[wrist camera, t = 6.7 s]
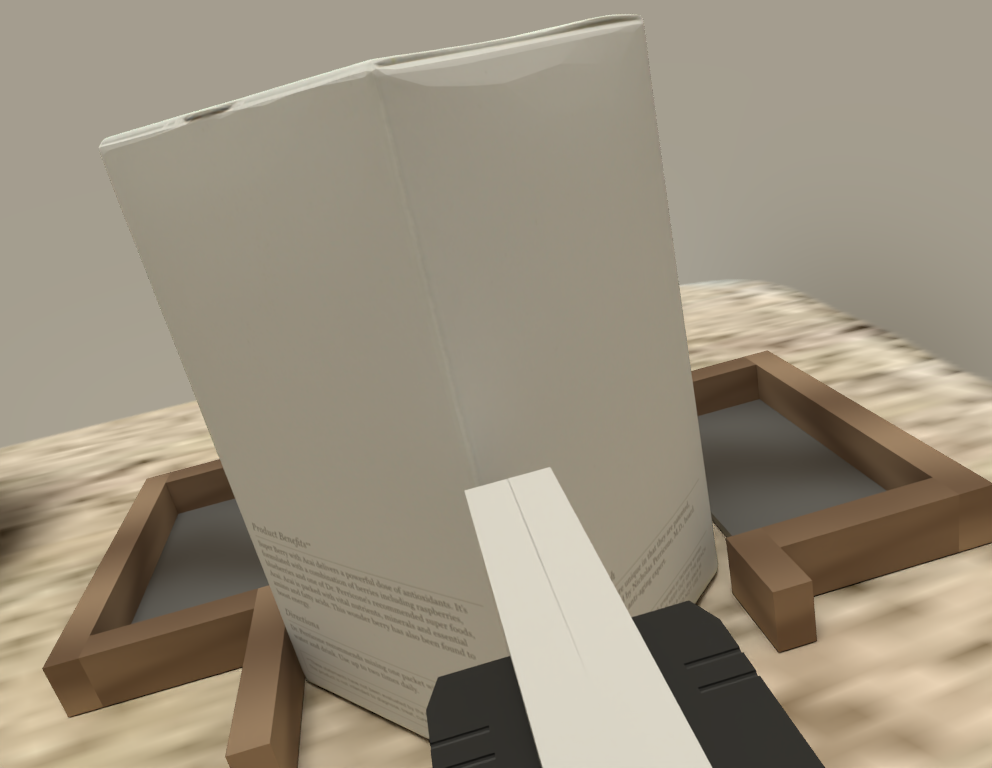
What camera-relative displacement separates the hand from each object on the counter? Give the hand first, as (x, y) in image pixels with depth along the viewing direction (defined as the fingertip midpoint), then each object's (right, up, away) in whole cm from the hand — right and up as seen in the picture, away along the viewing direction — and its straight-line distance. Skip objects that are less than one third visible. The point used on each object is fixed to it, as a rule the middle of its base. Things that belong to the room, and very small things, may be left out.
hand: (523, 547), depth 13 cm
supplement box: (0, -4, +9) cm, 10 cm away
